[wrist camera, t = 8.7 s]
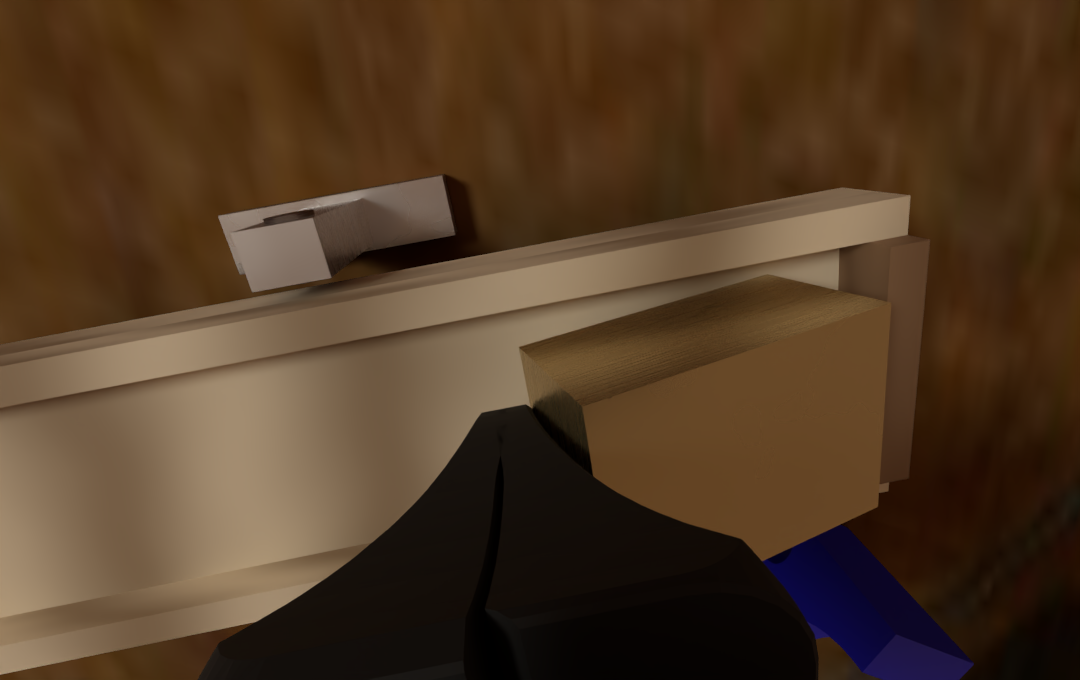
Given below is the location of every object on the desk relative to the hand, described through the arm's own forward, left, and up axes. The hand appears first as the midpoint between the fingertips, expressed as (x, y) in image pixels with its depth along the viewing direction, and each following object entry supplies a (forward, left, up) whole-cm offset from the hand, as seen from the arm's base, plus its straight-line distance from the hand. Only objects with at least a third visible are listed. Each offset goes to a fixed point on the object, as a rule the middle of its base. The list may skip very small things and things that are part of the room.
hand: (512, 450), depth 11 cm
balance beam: (-4, 0, -2) cm, 4 cm away
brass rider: (+3, 0, -1) cm, 4 cm away
